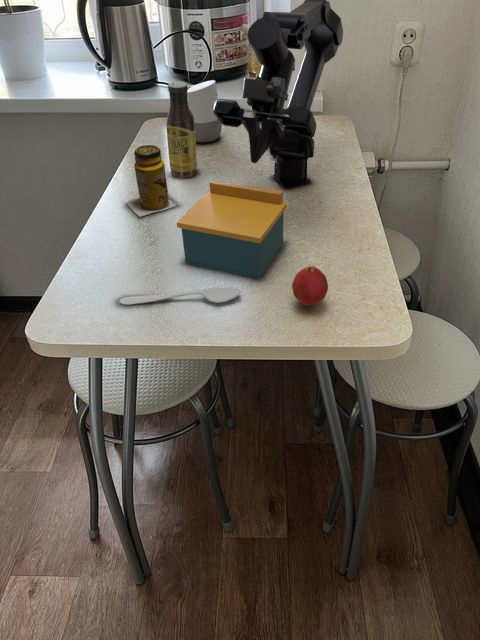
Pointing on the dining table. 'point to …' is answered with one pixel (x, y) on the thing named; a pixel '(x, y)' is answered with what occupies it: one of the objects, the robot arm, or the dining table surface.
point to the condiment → (150, 182)
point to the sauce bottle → (181, 132)
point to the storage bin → (232, 251)
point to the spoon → (209, 294)
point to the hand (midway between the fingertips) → (253, 162)
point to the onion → (310, 286)
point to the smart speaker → (204, 111)
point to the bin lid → (235, 211)
